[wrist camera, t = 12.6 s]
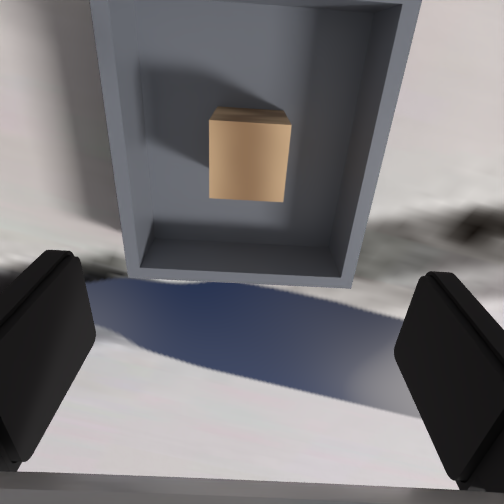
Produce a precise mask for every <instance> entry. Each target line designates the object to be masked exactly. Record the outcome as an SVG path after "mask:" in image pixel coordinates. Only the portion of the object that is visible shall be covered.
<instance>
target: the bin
mask: <svg viewBox="0 0 504 504" xmlns="http://www.w3.org/2000/svg"><path fill="white" fill-rule="evenodd" d="M421 2H422V0H90V8H91V15H92V22H93V29H94V36H95V43H96V51H97V58H98V65H99V72H100V79H101V86H102V94H103V101H104V108H105V115H106V122H107V129H108V137H109V144H110V151H111V158H112V165H113V172H114V180H115V187H116V194H117V201H118V208H119V215H120V223H121V230H122V237H123V244H124V251H125V258H126V266H127V273H128V278H146V279H166V280H186V281H207V282H227V283H228V282H229V283H247V284H268V285H288V286H309V287H329V288H349V289H351V286H352V282H353V278H354V274H355V270H356V266H357V262H358V258H359V254H360V250H361V246H362V241H363V237H364V233H365V229H366V225H367V221H368V217H369V213H370V209H371V205H372V201H373V197H374V193H375V189H376V185H377V181H378V177H379V172H380V168H381V164H382V160H383V156H384V152H385V148H386V144H387V140H388V136H389V132H390V128H391V124H392V120H393V116H394V112H395V108H396V104H397V99H398V95H399V91H400V87H401V83H402V79H403V75H404V71H405V67H406V63H407V59H408V55H409V51H410V47H411V43H412V39H413V35H414V31H415V26H416V22H417V18H418V14H419V10H420V6H421ZM217 107H234V108H250V109H266V110H282V111H284V112H285V114H286V116H287V117H288V119H289V121H290V123H291V125H292V126H291V136H290V145H289V154H288V163H287V172H286V181H285V190H284V199H283V202H270V201H252V200H233V199H215V198H209V119H210V118H211V116H212V115H213V113H214V111H215V110H216V108H217Z"/></svg>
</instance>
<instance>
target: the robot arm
mask: <svg viewBox="0 0 504 504" xmlns="http://www.w3.org/2000/svg"><path fill="white" fill-rule="evenodd" d="M95 337H96V331H95V326H94V321H93V317H92V312H91V308H90V303H89V298H88V294H87V290H86V284H85V280H84V275H83V271H82V266H81V262H80V259H79V258H78V257H74V255H73V253H72V252H71V251H61V250H46V251H45V252H43V253H42V254H41V255H40V256H39V257H38V258H37V259H36V260H35V261H34V262H33V263H32V264H31V265H30V266H29V267H28V268H27V269H26V270H24V271H23V272H22V273H21V274H20V275H19V276H18V277H17V278H16V279H15V280H14V281H13V282H12V283H11V284H10V285H9V286H8V287H7V288H6V289H4V290H3V291H2V292H1V293H0V504H504V330H503V329H502V327H501V326H500V325H499V324H498V323H497V322H496V321H495V320H494V318H493V317H492V316H491V315H490V314H489V313H488V312H487V311H486V309H485V308H484V307H483V306H482V305H481V304H480V303H479V301H478V300H477V299H476V298H475V297H474V296H473V295H472V294H471V292H470V291H469V290H468V289H467V288H466V287H465V286H464V285H463V283H462V282H461V281H460V280H459V279H458V278H457V277H456V276H455V275H454V274H453V273H450V272H433V271H430V272H428V273H427V274H426V275H425V276H422V277H421V278H420V279H419V281H418V283H417V286H416V289H415V292H414V294H413V297H412V300H411V303H410V305H409V308H408V311H407V314H406V317H405V319H404V322H403V325H402V328H401V330H400V333H399V336H398V339H397V341H396V345H395V348H394V356H395V360H396V362H397V364H398V366H399V369H400V371H401V373H402V375H403V378H404V380H405V382H406V384H407V387H408V388H409V391H410V393H411V395H412V398H413V400H414V402H415V404H416V406H417V409H418V411H419V413H420V415H421V418H422V420H423V422H424V424H425V426H426V429H427V431H428V433H429V435H430V438H431V440H432V442H433V444H434V446H435V449H436V451H437V453H438V455H439V457H440V460H441V462H442V464H443V466H444V469H445V471H446V473H447V475H448V476H449V477H450V479H452V480H455V481H456V483H457V485H458V487H459V489H460V490H448V489H427V488H406V487H386V486H365V485H344V484H323V483H300V482H277V481H254V480H230V479H207V478H183V477H157V476H130V475H104V474H77V473H50V472H17V470H18V468H19V466H20V465H21V463H22V462H26V461H28V460H29V459H30V458H31V456H32V454H33V453H34V451H35V449H36V447H37V446H38V444H39V442H40V440H41V438H42V437H43V435H44V433H45V431H46V429H47V428H48V426H49V424H50V422H51V420H52V418H53V417H54V415H55V413H56V411H57V409H58V408H59V406H60V404H61V402H62V400H63V399H64V397H65V395H66V393H67V391H68V390H69V388H70V386H71V384H72V382H73V381H74V379H75V377H76V375H77V373H78V371H79V370H80V368H81V366H82V364H83V362H84V361H85V359H86V357H87V355H88V353H89V352H90V350H91V348H92V346H93V344H94V342H95Z"/></svg>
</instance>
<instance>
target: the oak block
mask: <svg viewBox="0 0 504 504" xmlns="http://www.w3.org/2000/svg"><path fill="white" fill-rule="evenodd" d="M291 126H292V125H291V123H290V121H289V119H288V117H287V116H286V114H285V112H284V111H282V110H266V109H250V108H234V107H217V108H216V110H215V111H214V113H213V115H212V116H211V118H210V119H209V198H215V199H233V200H252V201H270V202H283V199H284V190H285V181H286V172H287V163H288V154H289V145H290V136H291Z"/></svg>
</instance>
